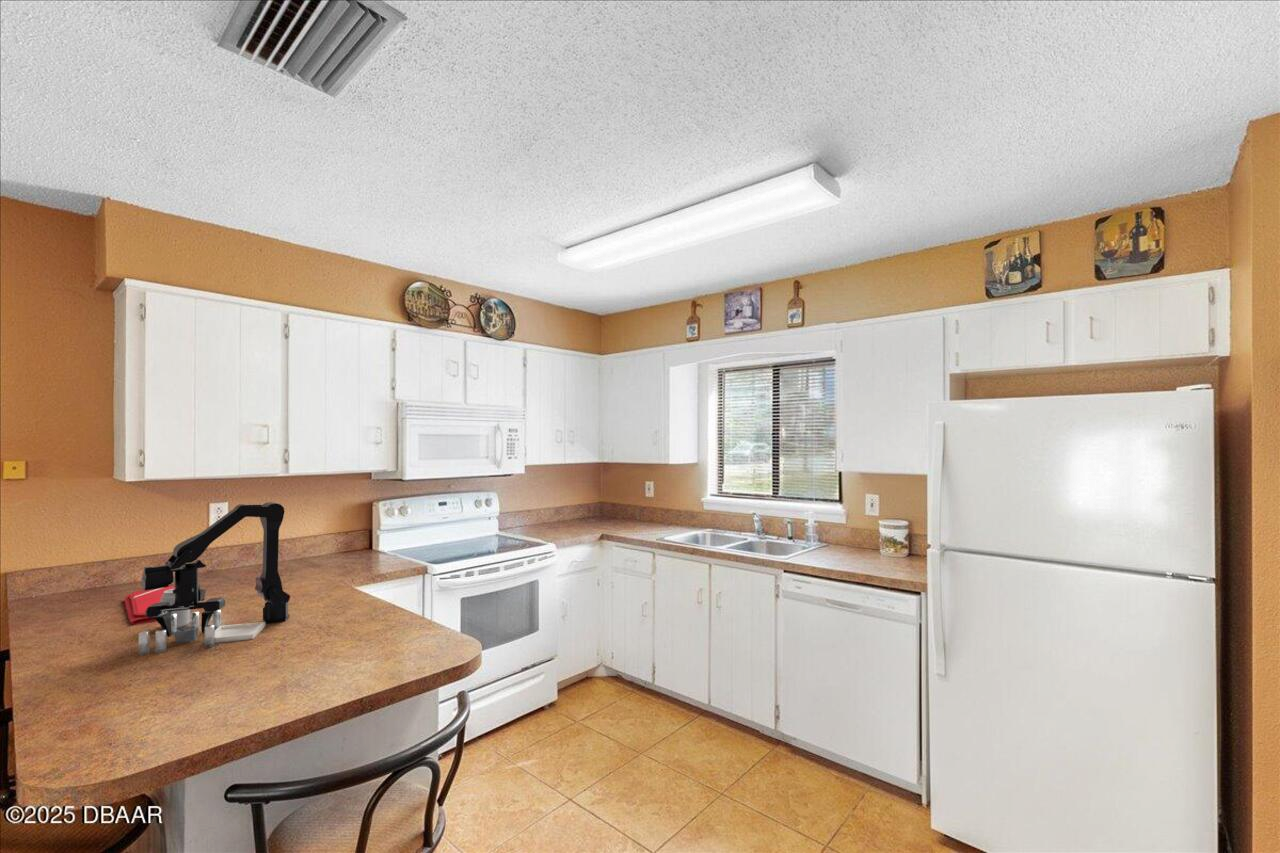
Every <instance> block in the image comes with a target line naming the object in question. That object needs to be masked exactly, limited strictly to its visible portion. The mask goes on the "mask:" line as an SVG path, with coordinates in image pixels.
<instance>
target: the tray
mask: <svg viewBox="0 0 1280 853" xmlns="http://www.w3.org/2000/svg"><path fill="white" fill-rule="evenodd" d="M265 627H266V623H265V622H263V621H259V622H246V623H237V624H228V625H221V626H219V627H218V628H217V629H216V630H215V644H219V643H228V642H237V641H248V640H253V639H254V638H256V637H257V636H258V635H259V633H261V631H263V630H264V628H265ZM203 641H204V642H203V643H204V645H205V638H204V639H203Z"/></svg>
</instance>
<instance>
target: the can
mask: <svg viewBox="0 0 1280 853" xmlns="http://www.w3.org/2000/svg"><path fill="white" fill-rule="evenodd" d="M173 590H174V589H170V590H167V591H164V592H163V593H164V594H163V595H162V596H161V602H169V603H170V605H173V604H174V603H175V594H173ZM182 607H183V606H182ZM189 607H191V606H189ZM179 608H180V607H179ZM173 613H176V614H177V629H179V628H183V627H187V626H188V624H190V613H191V609H190V610H178V611H172V613H171V614H173ZM160 627H161V628H162V626H161V625H160Z"/></svg>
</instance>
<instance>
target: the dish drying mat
mask: <svg viewBox="0 0 1280 853" xmlns="http://www.w3.org/2000/svg"><path fill="white" fill-rule="evenodd" d="M170 589H175V586H172V585H171V586H170V585H169V586H168V587H165V588H159V589H153V590H147V591H143V589H142V590H137V591H134V592H132V593H130V594H127V595H126V596H125V597H124V604H125V609H126V612H127V618H128V621H129V622H130V624H131V626H136V625H140V624H141V625H142V624H147V623H152V622H157V620H156V619H152V617H146V609H147V608H148V607H149V606H151V605H153V604H154V603H161V596H162V595H163V594H164V593H163V592H164V591H167V590H170Z"/></svg>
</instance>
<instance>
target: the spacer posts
mask: <svg viewBox="0 0 1280 853" xmlns="http://www.w3.org/2000/svg"><path fill="white" fill-rule="evenodd" d="M189 626H198V632H199V631H200V611H196V610H195V611H192V612H191V611H190V622H189ZM219 626H222V608H221V609H220V610H217V611H216V612H215V613H213V614H212V616H211V624H208V626H205V633H204V639H205V644H204V648H205V649H209V648H213V647H215V646H216V643H215V630H216V629H217V628H218V627H219ZM177 629H178V628H177V614H176V613H173V614H171V636H172V635H175V631H176V630H177ZM150 634H151V633H150V630H145V631H141V632H138V656H144V655H147V654H150V652H151V651H150V650H151V648H150V647H151V646H150V645H151V643H150V641H151V640H150ZM165 652H167V634H166V630H165V629H163V628H162V629H159V630H156V631H155V654H162V653H165Z"/></svg>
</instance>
